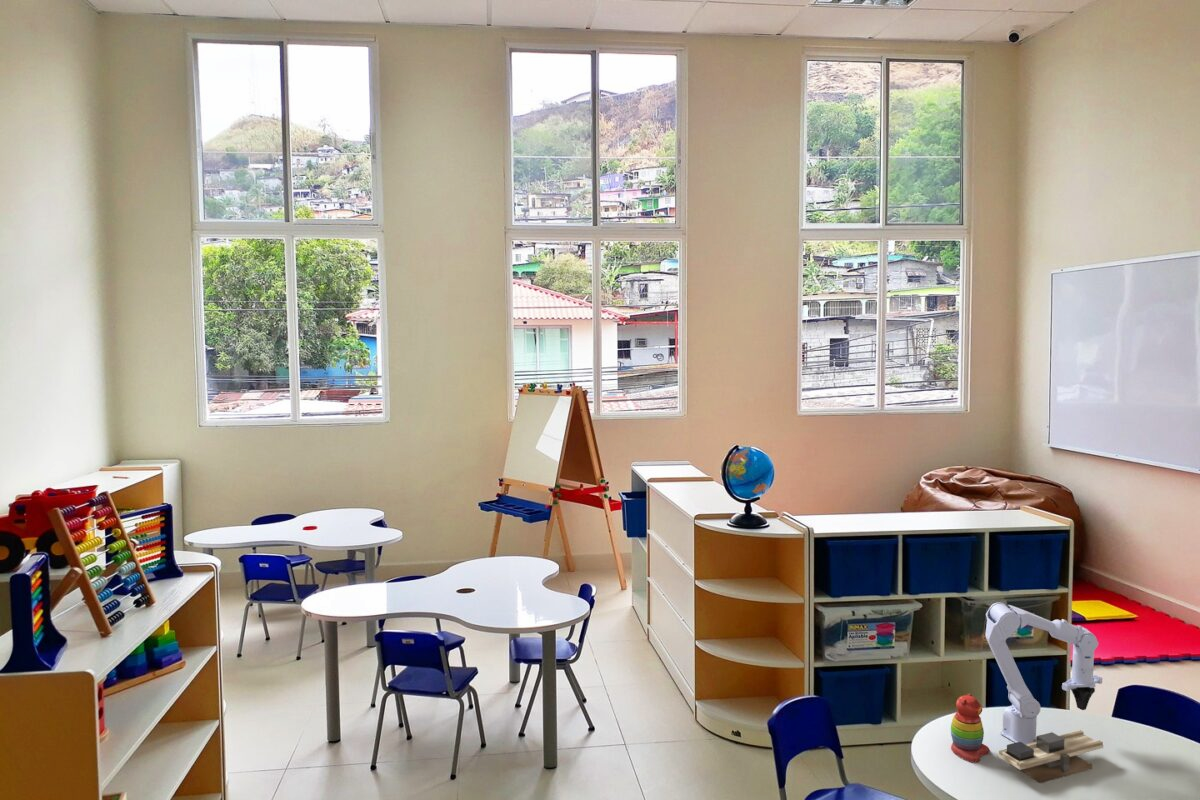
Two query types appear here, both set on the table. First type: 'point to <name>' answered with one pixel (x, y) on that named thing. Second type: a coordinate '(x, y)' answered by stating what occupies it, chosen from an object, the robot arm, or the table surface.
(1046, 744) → the block
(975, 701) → the stacking bear
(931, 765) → the table surface
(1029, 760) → the balance beam
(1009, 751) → the block
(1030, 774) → the beam stand
